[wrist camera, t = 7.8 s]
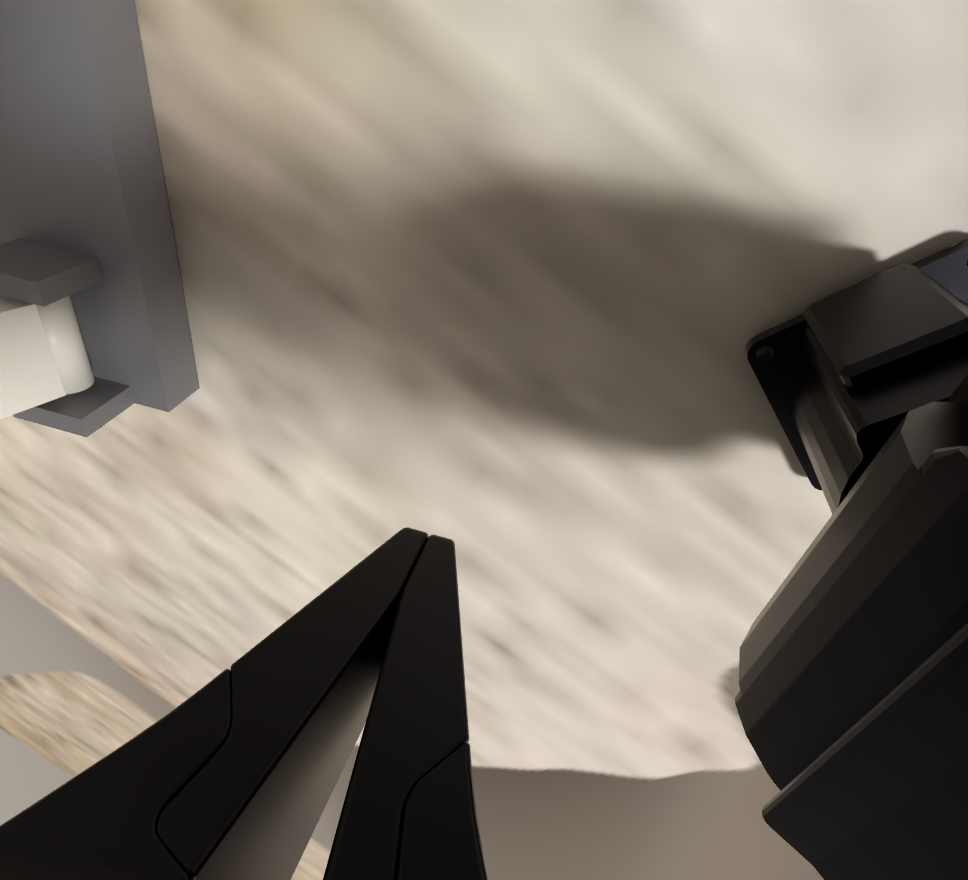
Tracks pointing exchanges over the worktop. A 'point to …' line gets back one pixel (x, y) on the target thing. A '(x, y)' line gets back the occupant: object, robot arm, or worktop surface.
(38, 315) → the block
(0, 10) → the switch base
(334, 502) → the worktop surface
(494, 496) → the worktop surface
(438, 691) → the robot arm
